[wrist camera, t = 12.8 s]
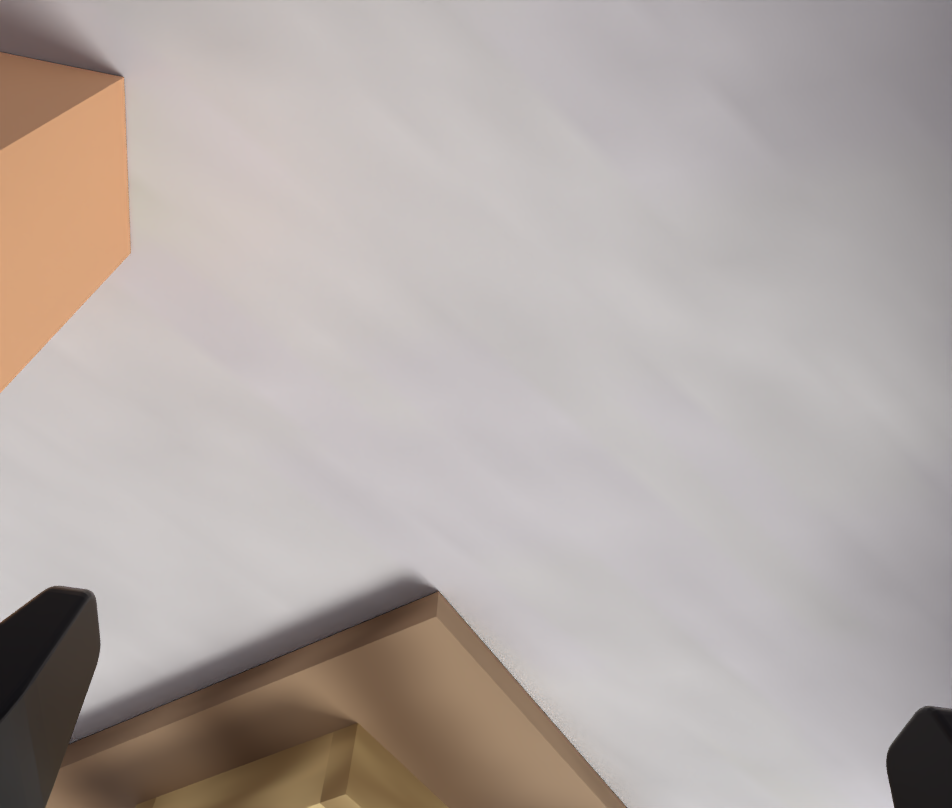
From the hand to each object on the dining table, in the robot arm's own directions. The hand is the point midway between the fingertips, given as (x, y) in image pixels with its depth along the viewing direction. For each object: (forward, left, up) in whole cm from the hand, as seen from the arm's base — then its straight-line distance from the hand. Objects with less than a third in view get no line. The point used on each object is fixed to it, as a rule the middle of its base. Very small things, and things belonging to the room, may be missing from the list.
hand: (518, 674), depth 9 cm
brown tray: (+22, -8, -12) cm, 27 cm away
